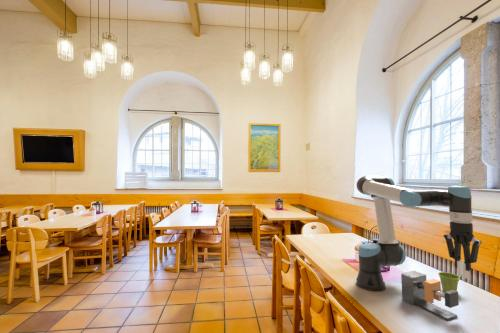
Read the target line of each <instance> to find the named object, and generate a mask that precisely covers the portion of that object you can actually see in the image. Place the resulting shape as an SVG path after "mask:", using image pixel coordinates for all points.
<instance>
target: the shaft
mask: <svg viewBox="0 0 500 333" xmlns="http://www.w3.org/2000/svg"><path fill="white" fill-rule="evenodd" d="M419 288H422V289H424V285H423V284H419ZM424 290H425V289H424ZM433 293H434V294H436V295H438V296H441V298H443V299H444V307H447V308H449V309H451V308H454V307H457V306H459V304H460V303H459V291H458V290H457V291H455V290H450V291H446V292H445V291H443V292H442V291H441V292H440V291H438V290H434V291H433Z"/></svg>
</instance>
